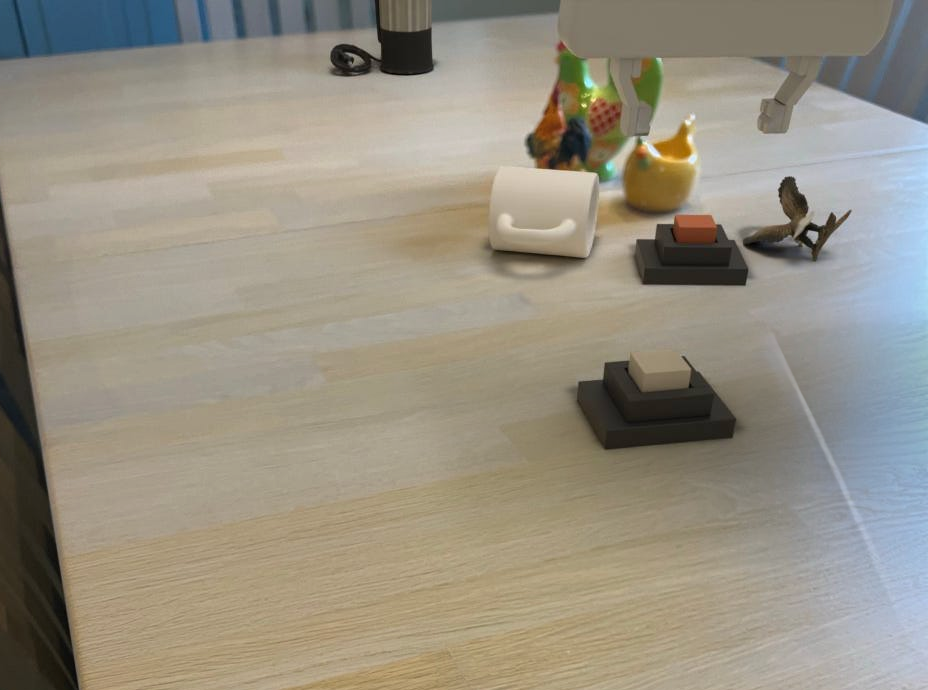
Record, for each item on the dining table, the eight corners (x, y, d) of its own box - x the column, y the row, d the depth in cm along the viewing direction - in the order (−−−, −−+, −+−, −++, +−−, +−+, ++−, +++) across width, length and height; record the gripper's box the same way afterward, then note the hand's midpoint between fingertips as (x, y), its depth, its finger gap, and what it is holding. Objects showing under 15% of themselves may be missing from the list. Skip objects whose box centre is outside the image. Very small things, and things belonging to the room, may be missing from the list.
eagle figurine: (851, 237, 105) (782, 200, 109) (854, 189, 99) (781, 151, 103) (800, 290, 105) (733, 251, 109) (800, 244, 99) (729, 205, 103)
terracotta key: (708, 232, 101) (711, 214, 100) (714, 245, 98) (717, 227, 97) (672, 232, 101) (674, 214, 100) (676, 245, 99) (679, 226, 97)
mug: (504, 234, 110) (506, 156, 105) (595, 242, 108) (602, 162, 103) (477, 275, 101) (478, 191, 96) (576, 284, 99) (582, 200, 94)
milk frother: (446, 68, 171) (445, -36, 162) (378, 85, 163) (373, -25, 153) (387, 56, 179) (383, -44, 169) (320, 72, 170) (311, -34, 160)
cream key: (672, 369, 78) (675, 348, 77) (688, 390, 75) (691, 369, 74) (627, 373, 78) (630, 351, 77) (641, 395, 75) (644, 373, 74)
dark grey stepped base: (731, 256, 105) (737, 221, 102) (745, 286, 99) (752, 250, 96) (634, 255, 105) (638, 220, 103) (642, 285, 99) (646, 249, 97)
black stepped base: (695, 390, 82) (702, 349, 80) (732, 438, 76) (741, 396, 74) (576, 400, 81) (579, 359, 79) (604, 450, 75) (609, 408, 73)
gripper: (585, -131, 53) (560, 150, 62) (943, -125, 56) (868, 143, 65) (557, -141, 58) (537, 122, 67) (888, -135, 61) (826, 117, 70)
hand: (703, 133), depth 66 cm, fingers open, 8 cm apart
